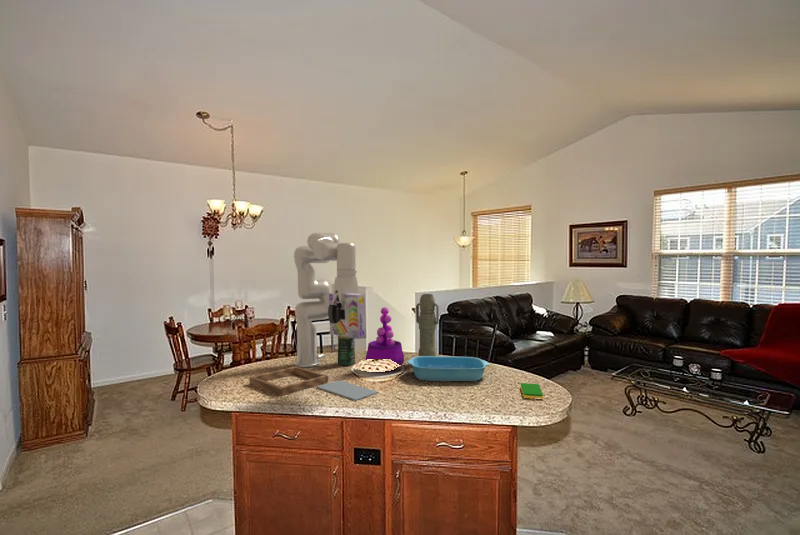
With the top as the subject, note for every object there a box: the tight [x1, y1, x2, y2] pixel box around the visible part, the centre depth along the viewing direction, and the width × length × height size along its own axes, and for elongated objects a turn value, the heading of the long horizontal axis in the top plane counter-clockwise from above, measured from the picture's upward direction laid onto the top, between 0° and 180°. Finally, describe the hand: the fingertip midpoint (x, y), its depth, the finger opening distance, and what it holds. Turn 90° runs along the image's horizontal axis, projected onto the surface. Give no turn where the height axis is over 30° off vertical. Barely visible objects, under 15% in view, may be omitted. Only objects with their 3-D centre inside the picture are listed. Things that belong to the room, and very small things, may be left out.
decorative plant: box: [365, 306, 405, 366], centre depth 205 cm, size 19×18×30 cm
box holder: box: [249, 365, 329, 397], centre depth 183 cm, size 24×24×3 cm
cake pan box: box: [328, 291, 367, 340], centre depth 172 cm, size 19×5×18 cm, turn 47°
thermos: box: [415, 293, 440, 356], centre depth 217 cm, size 9×12×35 cm
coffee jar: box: [337, 335, 356, 367], centre depth 215 cm, size 10×8×19 cm
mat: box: [316, 379, 379, 402], centre depth 173 cm, size 12×24×1 cm, turn 48°
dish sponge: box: [520, 382, 544, 400], centre depth 169 cm, size 7×14×2 cm, turn 169°
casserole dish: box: [406, 355, 490, 382], centre depth 193 cm, size 37×22×7 cm, turn 88°
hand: (346, 318), depth 172 cm, fingers closed on cake pan box, 4 cm apart
